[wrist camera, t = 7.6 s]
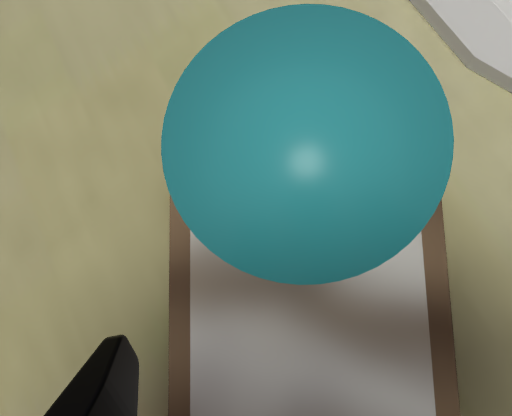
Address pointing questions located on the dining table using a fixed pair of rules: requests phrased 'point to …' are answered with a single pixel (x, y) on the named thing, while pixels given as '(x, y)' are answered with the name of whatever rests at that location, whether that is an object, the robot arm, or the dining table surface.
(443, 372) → the clipboard
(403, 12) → the dining table surface
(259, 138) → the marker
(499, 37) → the dish
